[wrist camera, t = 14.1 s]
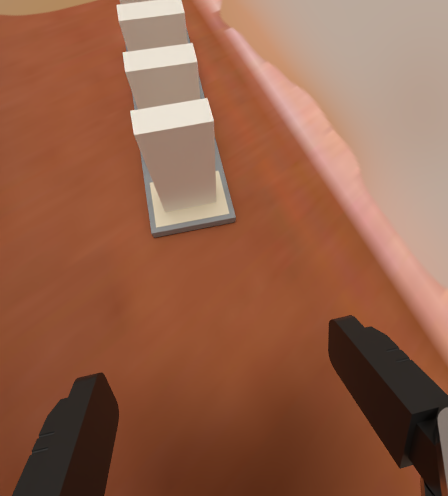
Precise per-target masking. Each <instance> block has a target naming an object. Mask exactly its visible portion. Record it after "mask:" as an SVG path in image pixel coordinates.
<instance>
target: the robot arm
mask: <svg viewBox="0 0 448 496" xmlns="http://www.w3.org/2000/svg"><path fill="white" fill-rule="evenodd" d="M328 352H329V357H330V361H331V363H332V365H333V367H334V369H335V371H336V372H337V374H338V375H339V377H340V378H341V380H342V381H343V383H344V384H345V386H346V388H347V389H348V391H349V392H350V394H351V395H352V397H353V398H354V400H355V401H356V403H357V404H358V406H359V407H360V409H361V410H362V412H363V413H364V415H365V416H366V418H367V419H368V421H369V423H370V424H371V426H372V427H373V429H374V430H375V432H376V433H377V435H378V436H379V438H380V439H381V441H382V442H383V444H384V445H385V447H386V448H387V450H388V451H389V453H390V455H391V456H392V458H393V459H394V461H395V462H396V464H397V465H398V467H399V468H404V467H407V466H410V465H414V467H415V468H416V470H417V471H418V473H419V474H420V475H421V478H420V486H421V496H448V395H447V394H446V393H445V392H444V391H443V390H442V389H441V388H440V387H439V386H438V385H437V384H436V383H435V382H434V381H433V380H432V379H431V378H430V377H428V376H427V375H426V374H425V373H424V372H423V371H422V370H421V369H420V368H419V367H418V366H417V365H416V364H415V363H414V362H413V361H412V360H410V359H409V357H408V356H407V355H406V354H405V353H404V352H403V351H402V350H400V349H399V347H398V346H397V345H396V344H395V343H394V342H393V341H392V340H391V339H390V338H389V337H388V336H387V335H385V334H384V333H382V332H380V331H378V330H376V329H375V328H373V327H366V328H364V326H363V325H362V324H361V323H360V322H359V321H358V320H357V319H356V318H355V317H354V316H352V315H349V316H345V317H341V318H336V319H332V320H330V321H329V343H328ZM118 420H119V409H118V404H117V401H116V399H115V396H114V394H113V392H112V390H111V388H110V386H109V384H108V381H107V379H106V377H105V375H104V374H103V373H97V374H93V375H88V376H84V377H80V378H77V379H76V380H75V382H74V384H73V387H72V389H71V392H70V394H69V397H68V398H65V399H61V400H60V401H59V402H58V403H57V405H56V406H55V407H54V409H53V410H52V411H51V412H50V414H49V415H48V416H47V418H46V420H45V422H44V425H43V427H42V429H41V431H40V434H39V439H37V441H36V443H35V445H34V447H33V450H32V455H30V456H29V459H28V461H27V463H26V465H25V468H24V470H23V472H22V474H21V477H20V479H19V481H18V483H17V486H16V488H15V490H14V492H13V495H12V496H104V494H105V488H106V483H107V478H108V473H109V468H110V462H111V457H112V452H113V447H114V442H115V437H116V431H117V426H118Z"/></svg>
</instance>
